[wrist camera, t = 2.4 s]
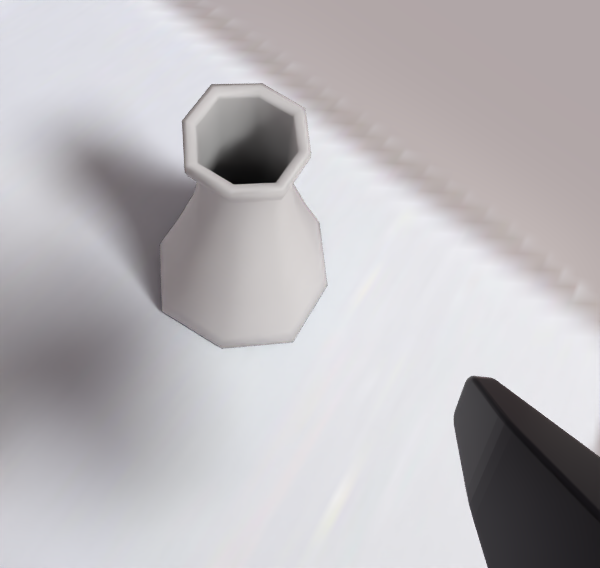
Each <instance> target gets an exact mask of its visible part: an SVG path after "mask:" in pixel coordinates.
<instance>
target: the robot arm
mask: <svg viewBox="0 0 600 568" xmlns="http://www.w3.org/2000/svg"><path fill="white" fill-rule="evenodd" d="M454 428H455V433H456V439H457V444H458V449H459V455H460V460H461V465H462V471H463V476H464V482H465V487H466V492H467V497H468V502H469V506H470V510H471V513H472V517H473V520H474V524H475V527H476V530H477V534H478V537H479V540H480V543H481V547H482V550H483V553H484V557H485V560H486V563H487V567H488V568H600V457H599V456H598V455H596V454H595V453H594V452H592V451H591V450H590V449H588V448H587V447H586V446H584V445H583V444H582V443H580V442H579V441H578V440H576V439H575V438H574V437H572V436H571V435H569V434H568V433H567V432H565V431H564V430H563V429H561V428H560V427H559V426H557V425H556V424H555V423H553V422H552V421H551V420H549V419H548V418H546V417H545V416H544V415H542V414H541V413H540V412H538V411H537V410H536V409H534V408H533V407H532V406H530V405H529V404H528V403H526V402H525V401H524V400H522V399H521V398H520V397H518V396H517V395H515V394H514V393H513V392H511V391H510V390H509V389H507V388H506V387H505V386H503V385H502V384H501V383H499V382H498V381H497V380H495V379H493V378H489V377H479V376H471V377H469V378H468V379H467V380H466V382H465V385H464V387H463V390H462V393H461V396H460V398H459V401H458V404H457V407H456V409H455V413H454Z"/></svg>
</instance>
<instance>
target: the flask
mask: <svg viewBox="0 0 600 568" xmlns="http://www.w3.org/2000/svg"><path fill="white" fill-rule="evenodd" d="M182 130H183V149H184V168H185V173H186V175H187V176H188V177H190V178H191V179H193V180H195V181H196V186H195V191H194V194H193V196H192V197H191V199H190V201H189V202H188V204H187V205H186V207H185V209H184V210H183V212H182V214H181V215H180V217H179V219H178V220H177V221H176V223H175V224H174V225H173V227H172V228H171V229H170V231H169V232H168V233H167V235H166V236H165V237H164V239H163V240H162V242H161V244H160V269H161V298H162V312H164V313H165V314H167V315H169V316H170V317H172V318H173V319H175V320H177V321H178V322H180V323H181V324H183V325H185V326H186V327H188V328H190V329H191V330H193V331H194V332H196V333H198V334H199V335H201V336H203V337H204V338H206V339H207V340H209V341H211V342H212V343H214V344H216V345H217V346H219V347H220V348H222V349H223V348H234V347H246V346H257V345H268V344H279V343H291V342H294V340H295V338H296V337H297V335H298V333H299V332H300V330H301V328H302V327H303V325H304V323H305V322H306V320H307V318H308V317H309V315H310V313H311V312H312V310H313V309H314V307H315V305H316V304H317V302H318V300H319V299H320V297H321V295H322V294H323V292H324V290H325V289H326V287H327V278H326V270H325V262H324V254H323V247H322V239H321V231H320V223H319V222H318V220H317V218H316V217H315V215H314V214H313V213H312V212H311V210H310V209H309V208H308V206H307V205H306V204H305V202H304V200H303V199H302V197H301V195H300V194H299V192H298V190H297V189H296V187H295V185H294V181H295V180H296V178H297V177H298V176H299V174H300V173H301V171H302V170H303V168H304V167H305V165H306V164H307V162H308V161H309V159H310V157H311V149H310V141H309V133H308V125H307V118H306V110H305V108H304V107H302V106H300V105H299V104H297V103H295V102H293V101H292V100H290V99H288V98H287V97H285V96H283V95H281V94H280V93H278V92H276V91H274V90H273V89H271V88H269V87H268V86H266V85H264V84H262V83H258V84H211V85H210V87H209V88H208V89H207V90H206V92H205V93H204V94H203V95H202V97H201V98H200V99H199V100H198V102H197V103H196V104H195V105H194V107H193V108H192V109H191V110H190V111H189V113H188V114H187V115H186V116H185V118H184V119H183V120H182Z"/></svg>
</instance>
